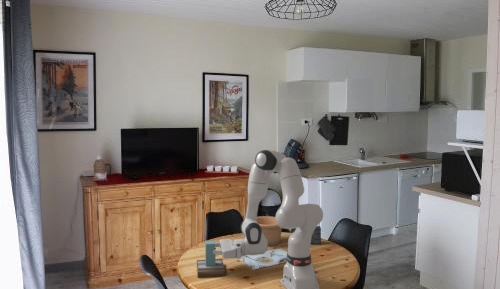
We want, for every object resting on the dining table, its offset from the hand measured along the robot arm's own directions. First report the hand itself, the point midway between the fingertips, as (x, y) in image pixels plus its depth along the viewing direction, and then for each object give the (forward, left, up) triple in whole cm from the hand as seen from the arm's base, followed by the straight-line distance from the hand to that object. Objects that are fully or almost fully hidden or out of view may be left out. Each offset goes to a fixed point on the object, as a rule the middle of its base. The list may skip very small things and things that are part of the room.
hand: (212, 248), depth 215 cm
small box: (+35, -67, -12) cm, 77 cm away
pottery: (+40, -38, -12) cm, 57 cm away
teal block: (0, +1, -8) cm, 9 cm away
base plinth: (0, +1, -12) cm, 12 cm away
